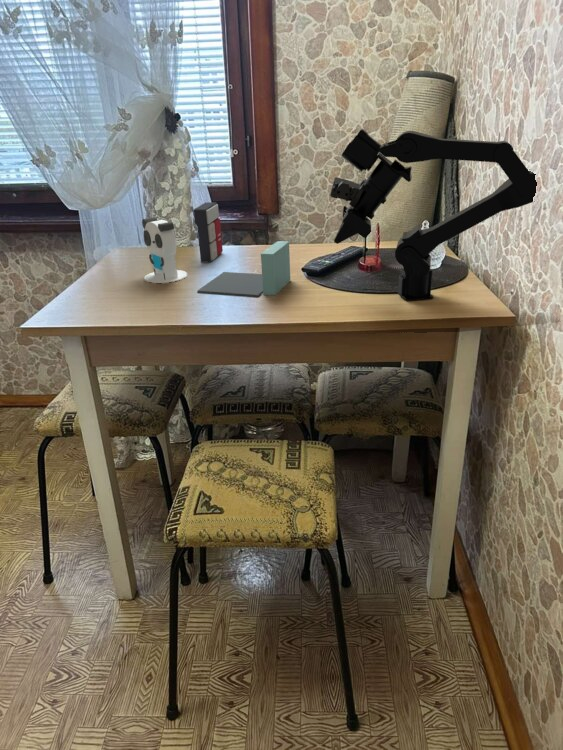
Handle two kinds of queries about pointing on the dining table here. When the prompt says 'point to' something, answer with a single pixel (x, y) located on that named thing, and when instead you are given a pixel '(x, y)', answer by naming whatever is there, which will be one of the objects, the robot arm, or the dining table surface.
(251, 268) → the dining table surface
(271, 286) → the board
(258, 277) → the mat
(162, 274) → the panda figurine
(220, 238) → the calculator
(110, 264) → the dining table surface
